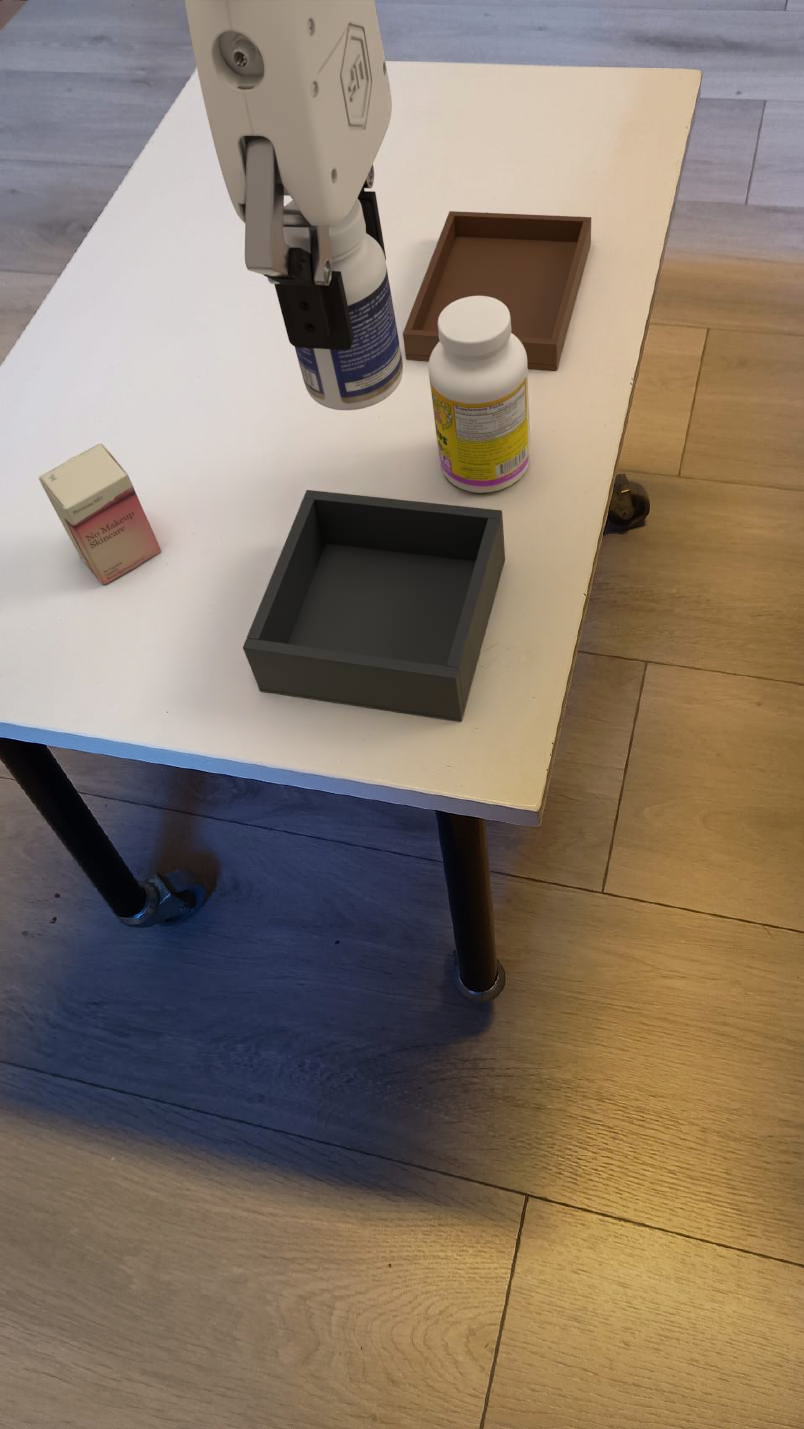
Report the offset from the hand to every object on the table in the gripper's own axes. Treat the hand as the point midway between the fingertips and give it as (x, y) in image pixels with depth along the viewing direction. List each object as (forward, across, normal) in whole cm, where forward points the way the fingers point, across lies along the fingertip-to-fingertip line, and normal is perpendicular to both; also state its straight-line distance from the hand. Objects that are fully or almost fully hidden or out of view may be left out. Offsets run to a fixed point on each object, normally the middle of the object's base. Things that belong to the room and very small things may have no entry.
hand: (339, 301), depth 56 cm
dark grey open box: (+24, -2, +1) cm, 24 cm away
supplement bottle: (+24, +14, -3) cm, 28 cm away
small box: (+24, +2, +22) cm, 32 cm away
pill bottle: (+5, 0, 0) cm, 5 cm away
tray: (+24, +32, 0) cm, 40 cm away
